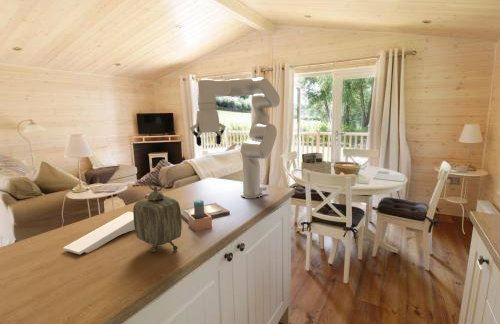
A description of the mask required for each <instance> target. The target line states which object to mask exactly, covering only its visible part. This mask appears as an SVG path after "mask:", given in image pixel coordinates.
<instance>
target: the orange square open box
mask: <svg viewBox="0 0 500 324" xmlns="http://www.w3.org/2000/svg"><path fill="white" fill-rule="evenodd" d="M188 216H189V223H188V226H189V227H190V228H191V229H192V230H193V231H195V232H198V231H202V230H206V229H210V228H212V227H213V218H212V217H211V216H210V215H208V214H207V213H206V212H204V217H205V218H201V219H195V214H191V215H188Z"/></svg>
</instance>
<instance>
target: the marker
mask: <svg viewBox="0 0 500 324" xmlns="http://www.w3.org/2000/svg"><path fill="white" fill-rule="evenodd" d="M204 202H205V201H204V200H202V199H197V200H193V207H194V214H195V219H201V218H205V217H204V205H205V203H204Z"/></svg>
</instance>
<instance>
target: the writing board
mask: <svg viewBox="0 0 500 324" xmlns="http://www.w3.org/2000/svg"><path fill="white" fill-rule="evenodd" d="M180 210H181V219H183V221H185V222H186V223H187V224H189V216H188V215H191V214H194V206H193V207H187V208H182V209H181V208H180ZM204 212H206V213H207V214H208V215H210V216H211V217H212V219H213V218H219V217H224V216H227V215H230V213H231V212H230V210H229V209H227V208H225V207H224V206H221V205H220V204H218V203H217V202H214V203H213V202H211V203H209V204H208V203H207V204H204Z"/></svg>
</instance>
